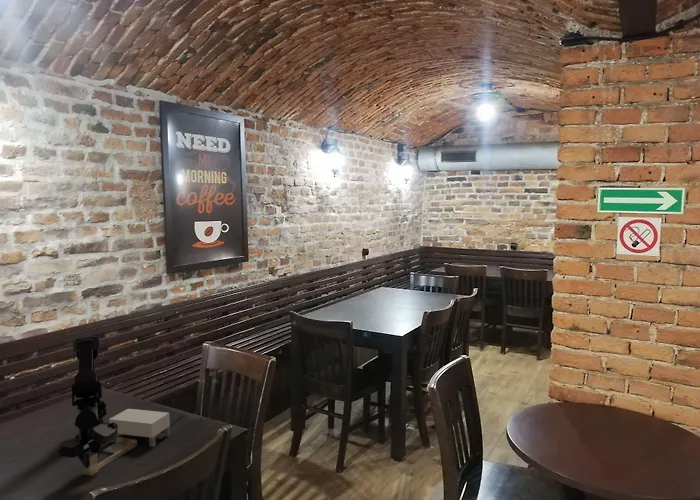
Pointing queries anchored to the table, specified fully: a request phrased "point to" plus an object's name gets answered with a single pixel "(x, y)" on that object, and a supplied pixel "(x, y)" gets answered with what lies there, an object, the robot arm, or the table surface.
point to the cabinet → (142, 424)
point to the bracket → (175, 420)
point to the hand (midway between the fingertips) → (91, 465)
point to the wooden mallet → (93, 457)
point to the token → (115, 447)
